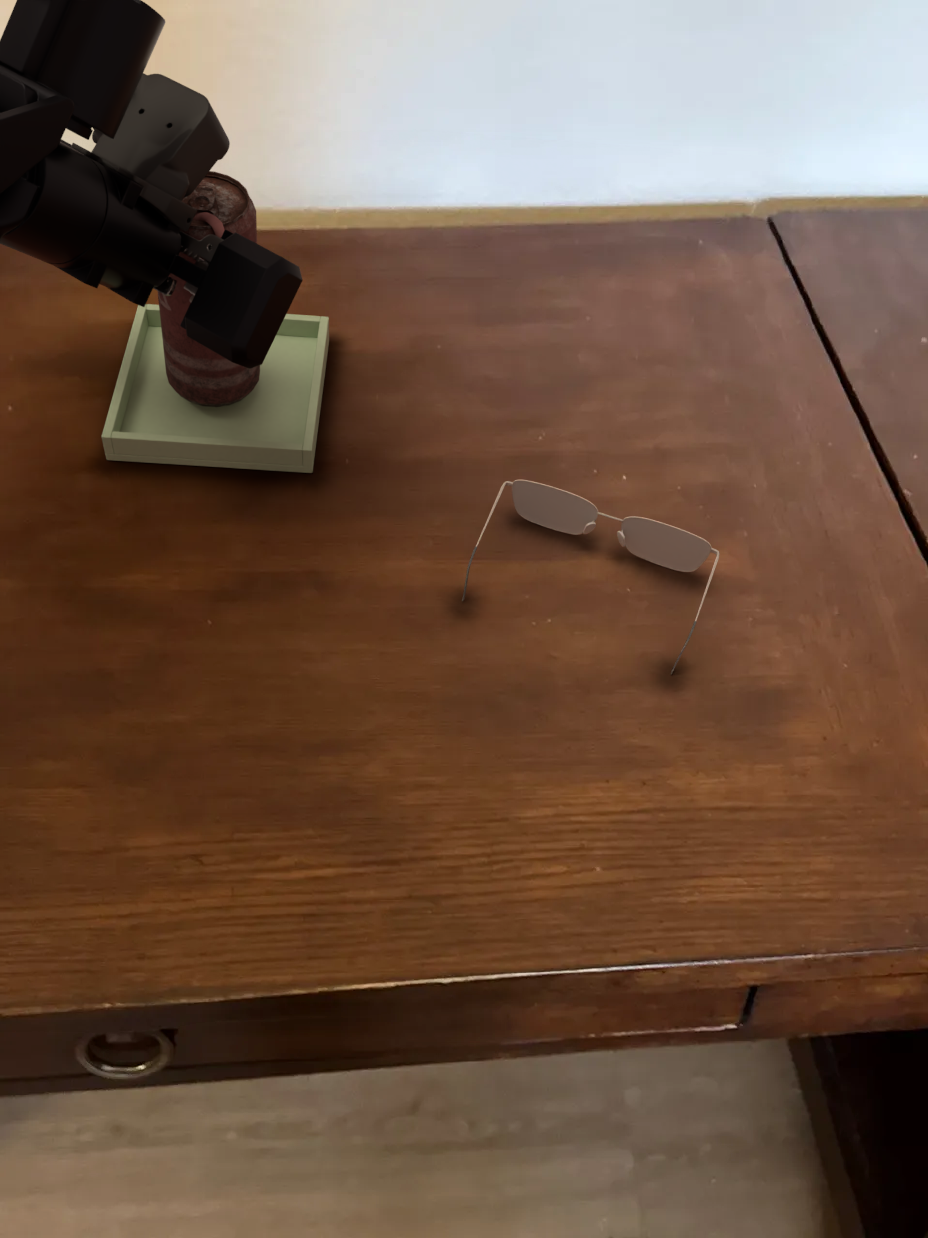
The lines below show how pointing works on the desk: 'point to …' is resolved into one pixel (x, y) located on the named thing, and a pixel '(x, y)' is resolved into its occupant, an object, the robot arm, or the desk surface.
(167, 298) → the can
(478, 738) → the desk surface
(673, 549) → the eyeglasses
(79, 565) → the desk surface
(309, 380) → the tray
